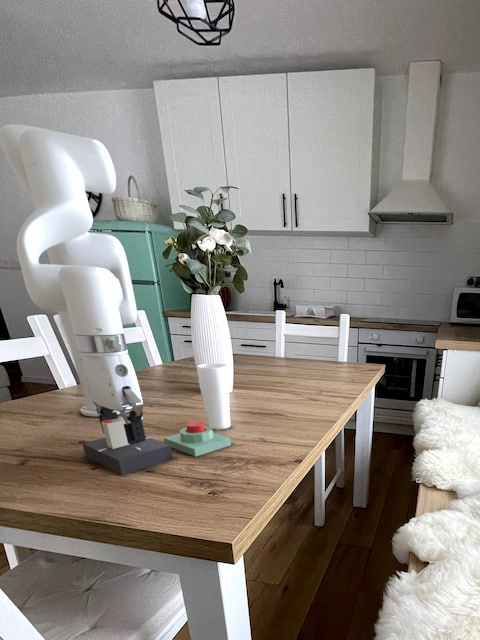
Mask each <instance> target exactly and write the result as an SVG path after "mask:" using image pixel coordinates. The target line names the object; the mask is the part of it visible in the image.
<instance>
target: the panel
mask: <svg viewBox="0 0 480 640" xmlns="http://www.w3.org/2000/svg"><path fill="white" fill-rule="evenodd" d="M145 437H146V440H145V441H143V442H140V443H136V444H132V445H126V446H122V447H119V448H115V449H112V448H109V447H108V446H107V442H106V438H105V437H102V438H98V439H94V440H89V441H86V442H82V443H81V445H82V448H83V451H84V454H85V457H86V458H87V459H89V460H91V461H93V462H95V463H97V464H99V465H101V466H103V467H105V468H107V469H109V470H111V471H113V472H115V473H117V474H119V475H121V476H123V475H126V474H130V473H133V472H136V471H140V470H142V469H145V468H149V467H151V466H154V465H158V464H161V463H164V462H168V461H170V460H171V461H172V460H173V454H172V447H170V445H168V444H166V443H165V442H163V441H160V440H158V439H155V438H153V437H152V436H147V435H145Z"/></svg>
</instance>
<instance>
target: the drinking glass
mask: <svg viewBox="0 0 480 640" xmlns="http://www.w3.org/2000/svg"><path fill="white" fill-rule="evenodd" d="M196 371H197V372H196V373H197V380H198V385H199V390H200V395H201V399H202V403H203V407H204V411H205V417H206V421H207V426H209V427H211V428H212V430H219V431H220V430H225V429H228V428H230V427H231V423H232V422H231V410H230V407H231V406H230V379H229V371H228V366H227V364H224V363H202V364H198V365H197V366H196Z"/></svg>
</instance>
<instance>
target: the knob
mask: <svg viewBox="0 0 480 640" xmlns="http://www.w3.org/2000/svg"><path fill="white" fill-rule="evenodd" d="M101 423H102V427H103V430H104V434H103V435H104V438H106V442H107V446H108V447H109V448H112V449H115V448H119V447H122V446H126V445H130V444H128V441H127V437H126V433H125V429H124V425H123V424H126V423H125V421H124V419H123V417H122V416H121V417H118V419H113V420H103V422H101ZM101 423H100V424H101ZM102 427H101V428H102Z"/></svg>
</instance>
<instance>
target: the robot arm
mask: <svg viewBox="0 0 480 640" xmlns="http://www.w3.org/2000/svg"><path fill="white" fill-rule="evenodd" d="M0 145H1V148H2V152H3V153H4V155H5V158H6V161H7V162H8V164H9V166H10V167H11V170H12V171H13V172H14V174H15V176H16V178H17V179H18V181H19V183H20V184H21V185H22V187H23V188H24V190H25V192H26V193H27V195H28V197H29V198H30V200H31V202H32V204H33V206H34V211H33V212H32V213H31V214H30V215H29V216H28V217H27V218H26V219H25V221H24V222H23V223H22V225H21V227H20V229H19V232H18V235H17V238H16V254H17V258H18V261H19V266H20V269H21V273H22V278H23V282H24V285H25V288H26V291H27V293H28V296H29V297H30V300H31V301H32V302H33V303H34V304H35V306H37V308H40V309H41V310H44V311H47V312H56V313H57V315H58V316H59V319H60V322H61V324H62V327H63V330H64V332H65V335H66V338H67V341H68V344H69V348H70V353H71V355H72V358H73V363H74V366H75V370H76V374H77V376H78V377H77V378H78V380H79V384H80V388H81V391H82V395H83V398H84V402H85V405H84V406H82V407H81V408H80V409H79V410H80V414H81V415H83V416H87V417H98V419H99V423H100V426H101V430H102V434H103V435H105V434H104V430H103V427H102V423H101V422H103V420H113V419H118V418H119V417H118V415H121V418H122V417H123V419H124V421H125V423H126V424H123V425H124V429H125V433H126V437H127V441H128V444H130V445H132V444H136V443H140V442H143V441H145V440H146V437H145V436H146V433H145V429H144V423H143V421H144V417H143V415H144V411H143V409H144V401H143V396H142V392H141V389H140V385H139V381H138V378H137V374H136V371H135V368H134V366H133V362H132V360H131V358H130V355H129V350H128V345H127V341H126V337H125V336H126V335H125V333H124V328H123V325H124V326H126V325H132V324H134V323H136V321H137V319H138V309H137V308H138V307H137V303H136V302H137V301H136V297H135V292H134V287H133V283H132V278H131V277H132V276H131V272H130V266H129V263H128V258H127V254H126V251H125V248H124V246H123V244H122V243H121V241H120V240H119V239H118V238H117V237H115V236H113V235H111V234H108V233H97V232H89V231H90V230H91V229H92V227H93V224H94V216H93V213H92V209H91V207H90V206H91V205H90V203H89V200H88V197H87V193H86V192H91V193H98V194H105V195H106V194H107V195H111V194H114V192H115V191H116V187H117V175H116V169H115V166H114V163H113V160H112V158H111V155H110V153H109V151H108V150H107V148H106V147H105V145H104V144H103V143H102V142H101V141H99V140H97V139H95V138H90V137H86V136H82V135H76V134H71V133H66V132H61V131H57V130H52V129H49V128H43V127H37V126H32V125H26V124H17V123H16V124H5V125H3V126H1V127H0ZM45 251H46V253H47V254H46V255H47V256H48V259H49V262H50V264H49V263H40V260H39V259H40V256H41V255H42V254H43V253H44V252H45ZM128 413H129V414H128Z"/></svg>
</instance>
